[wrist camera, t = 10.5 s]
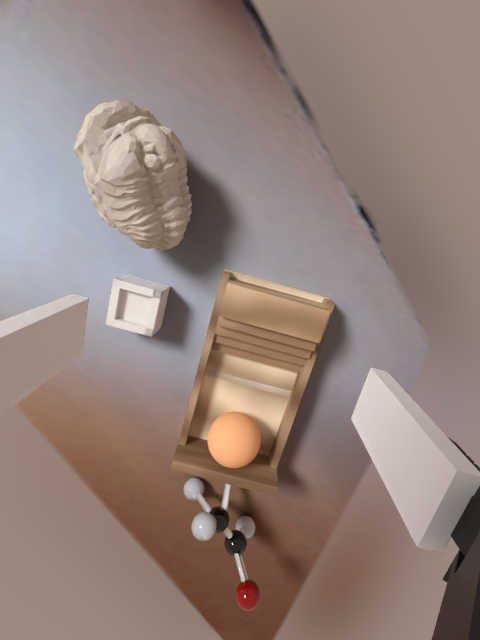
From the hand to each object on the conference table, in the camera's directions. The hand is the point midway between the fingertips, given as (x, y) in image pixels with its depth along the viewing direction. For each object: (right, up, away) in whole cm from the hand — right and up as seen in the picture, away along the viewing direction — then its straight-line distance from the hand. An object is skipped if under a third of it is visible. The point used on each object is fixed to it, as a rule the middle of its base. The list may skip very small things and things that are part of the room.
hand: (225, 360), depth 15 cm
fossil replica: (-8, +15, +20) cm, 27 cm away
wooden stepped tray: (+2, -4, +25) cm, 25 cm away
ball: (0, -12, +22) cm, 25 cm away
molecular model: (0, -22, +30) cm, 37 cm away
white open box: (-10, +4, +23) cm, 25 cm away
